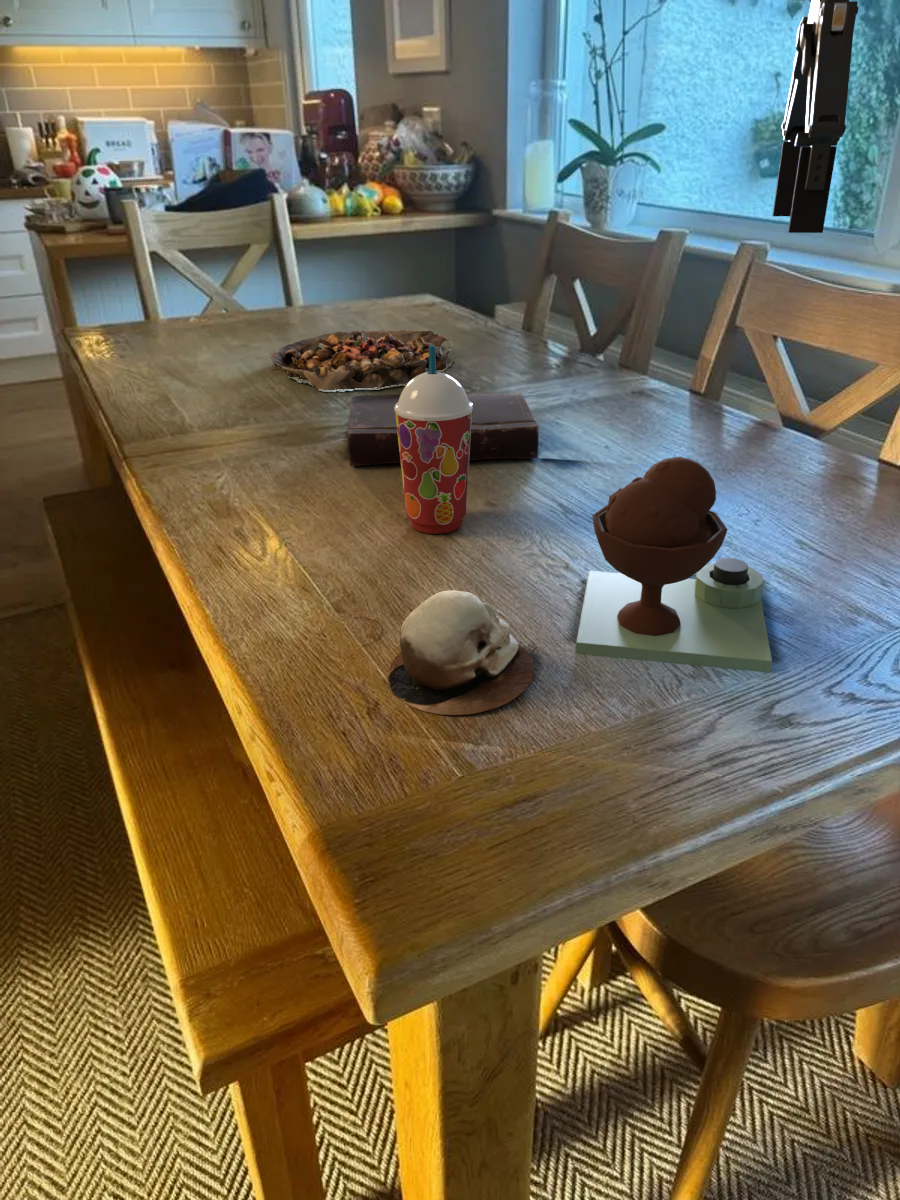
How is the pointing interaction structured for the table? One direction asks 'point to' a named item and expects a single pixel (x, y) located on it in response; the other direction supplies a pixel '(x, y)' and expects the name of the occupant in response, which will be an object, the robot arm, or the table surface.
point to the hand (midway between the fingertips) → (795, 224)
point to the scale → (707, 615)
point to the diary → (494, 428)
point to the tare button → (730, 571)
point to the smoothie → (434, 449)
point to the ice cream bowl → (660, 537)
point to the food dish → (361, 358)
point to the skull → (458, 657)
